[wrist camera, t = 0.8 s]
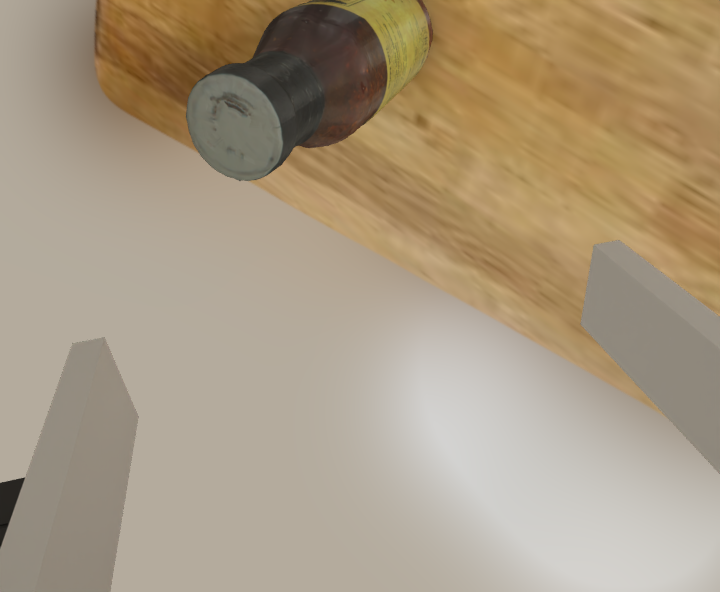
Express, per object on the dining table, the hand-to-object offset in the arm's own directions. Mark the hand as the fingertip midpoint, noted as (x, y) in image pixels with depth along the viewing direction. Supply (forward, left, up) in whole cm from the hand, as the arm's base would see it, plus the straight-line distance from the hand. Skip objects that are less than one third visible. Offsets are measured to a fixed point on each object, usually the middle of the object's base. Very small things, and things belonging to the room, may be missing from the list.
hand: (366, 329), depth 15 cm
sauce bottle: (-1, -7, -26) cm, 27 cm away
